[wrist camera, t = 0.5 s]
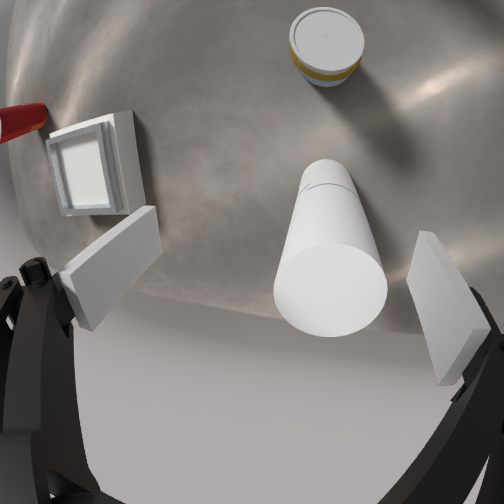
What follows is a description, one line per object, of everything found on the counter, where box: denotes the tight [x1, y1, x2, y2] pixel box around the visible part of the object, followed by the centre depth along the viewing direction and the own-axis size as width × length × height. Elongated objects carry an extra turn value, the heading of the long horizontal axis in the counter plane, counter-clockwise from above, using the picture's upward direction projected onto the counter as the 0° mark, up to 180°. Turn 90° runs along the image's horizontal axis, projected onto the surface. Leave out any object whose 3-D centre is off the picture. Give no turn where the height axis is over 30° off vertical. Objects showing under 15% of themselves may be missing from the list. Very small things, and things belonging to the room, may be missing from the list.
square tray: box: [45, 110, 146, 216], centre depth 41 cm, size 16×16×7 cm
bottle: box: [289, 7, 365, 87], centre depth 24 cm, size 7×7×15 cm
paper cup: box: [0, 103, 48, 144], centre depth 36 cm, size 8×8×14 cm
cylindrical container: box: [273, 159, 387, 337], centre depth 28 cm, size 7×7×25 cm
